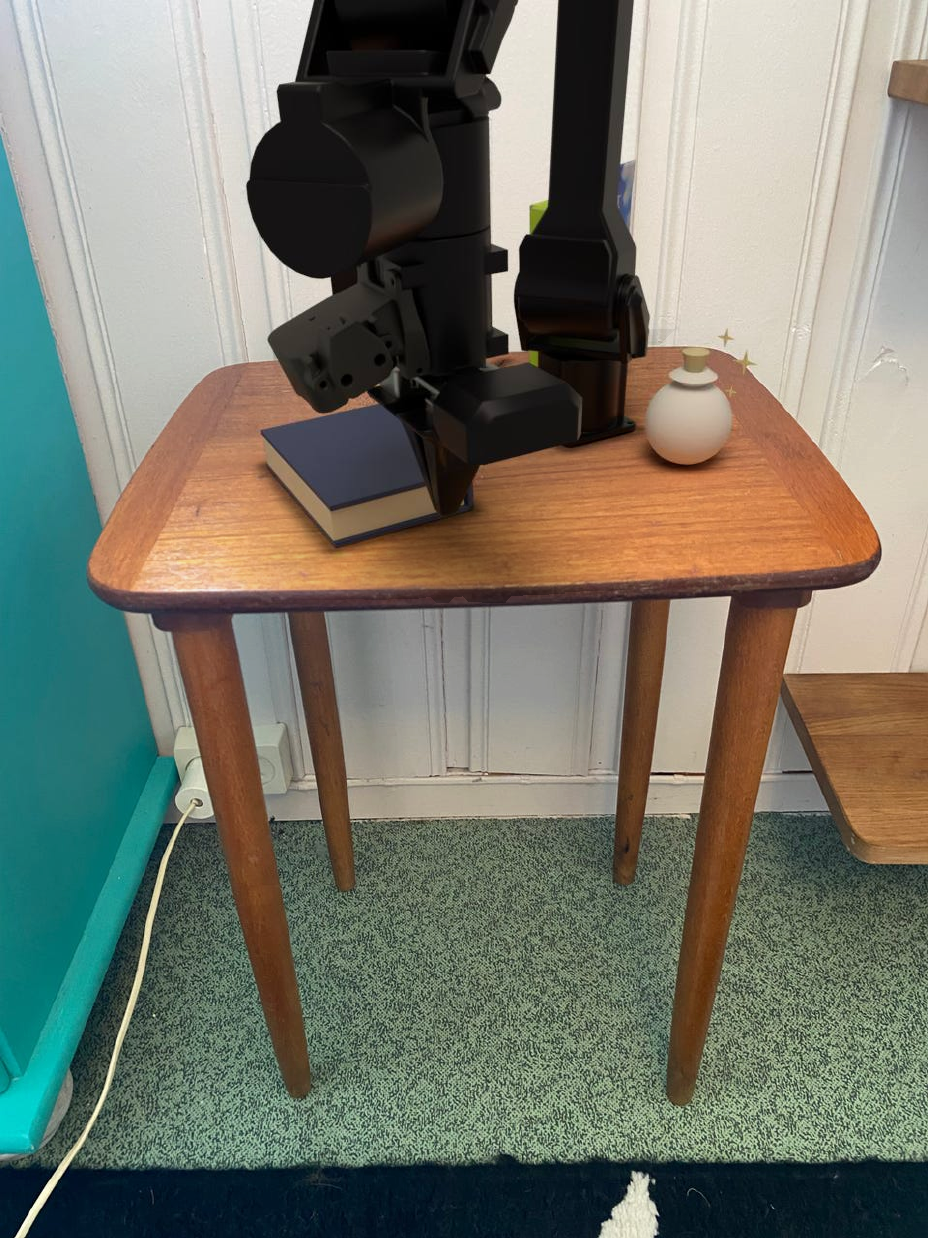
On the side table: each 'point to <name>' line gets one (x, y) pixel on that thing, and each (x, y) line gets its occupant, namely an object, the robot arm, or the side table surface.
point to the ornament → (690, 411)
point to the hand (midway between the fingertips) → (446, 512)
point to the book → (352, 474)
